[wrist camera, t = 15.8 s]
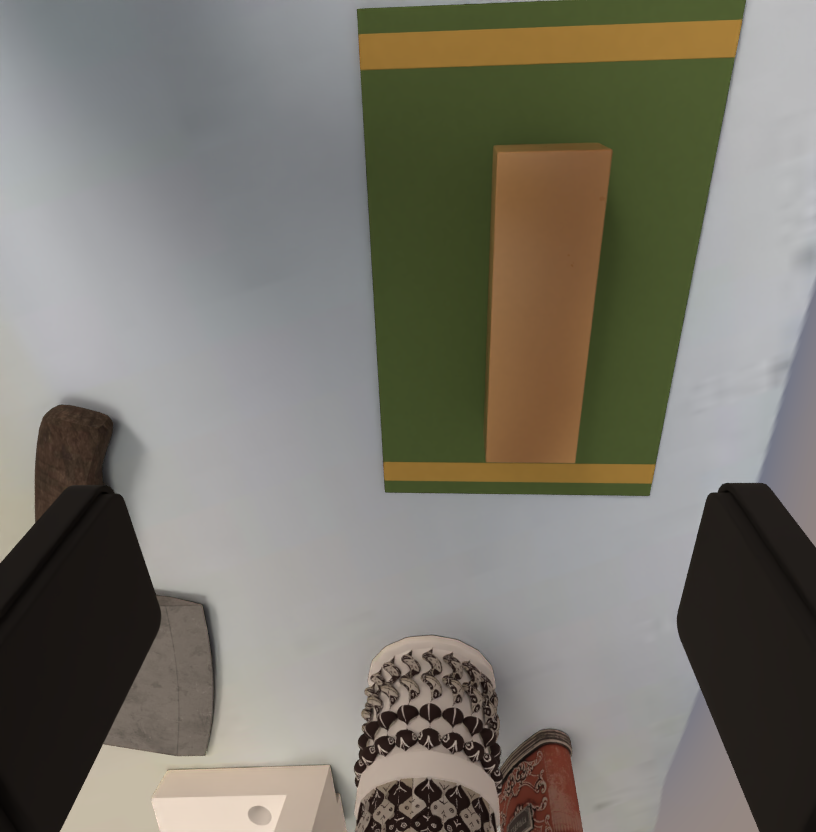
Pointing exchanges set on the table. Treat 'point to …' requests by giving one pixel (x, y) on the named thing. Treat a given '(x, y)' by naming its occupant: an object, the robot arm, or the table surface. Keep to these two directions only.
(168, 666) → the cleaver
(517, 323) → the chalkboard eraser
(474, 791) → the decorative candle
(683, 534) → the table surface
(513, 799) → the lighter
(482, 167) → the cloth
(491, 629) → the table surface
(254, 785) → the bracket
